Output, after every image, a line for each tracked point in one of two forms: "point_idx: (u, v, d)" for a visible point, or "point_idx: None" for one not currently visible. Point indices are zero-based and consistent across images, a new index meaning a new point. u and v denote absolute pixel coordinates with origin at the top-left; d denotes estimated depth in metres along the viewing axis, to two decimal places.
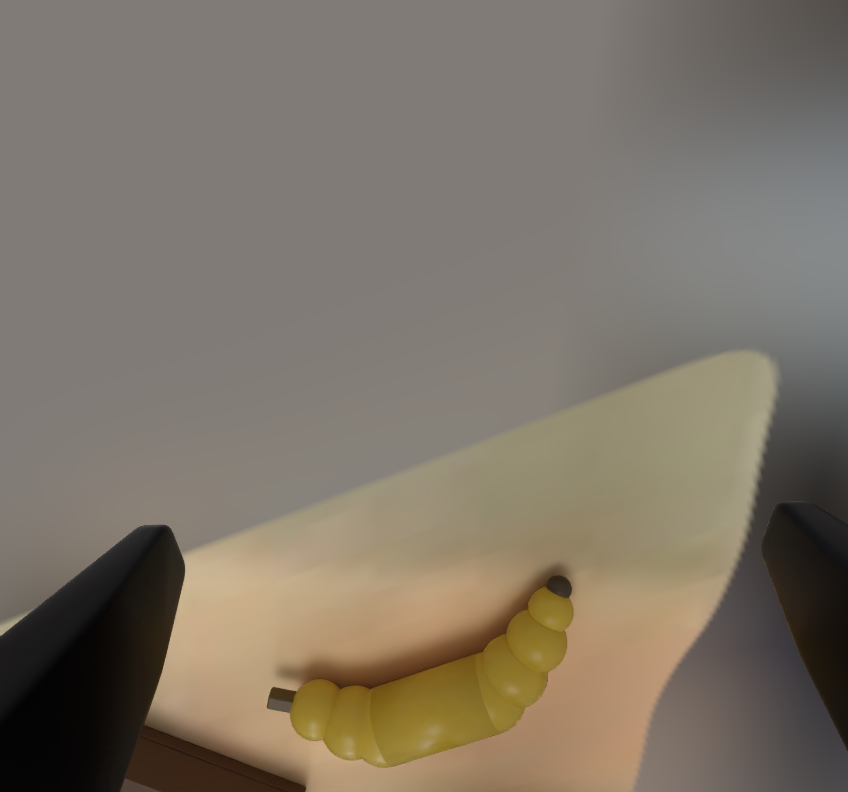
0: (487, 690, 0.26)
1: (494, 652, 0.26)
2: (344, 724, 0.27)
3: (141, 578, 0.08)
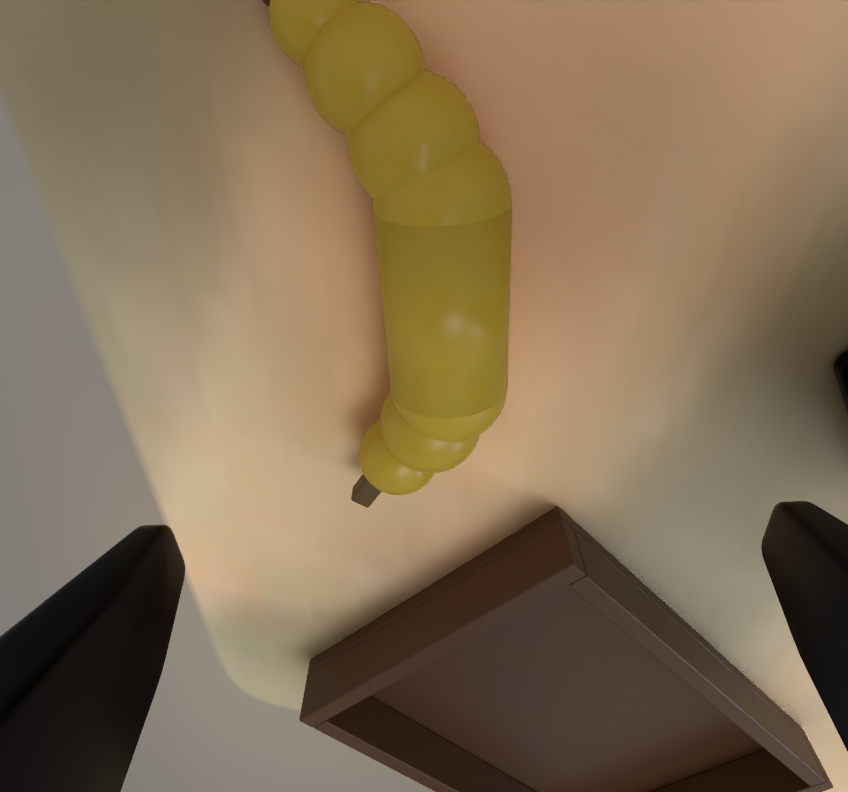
0: (390, 208, 0.14)
1: (352, 166, 0.14)
2: (394, 440, 0.17)
3: (141, 578, 0.08)
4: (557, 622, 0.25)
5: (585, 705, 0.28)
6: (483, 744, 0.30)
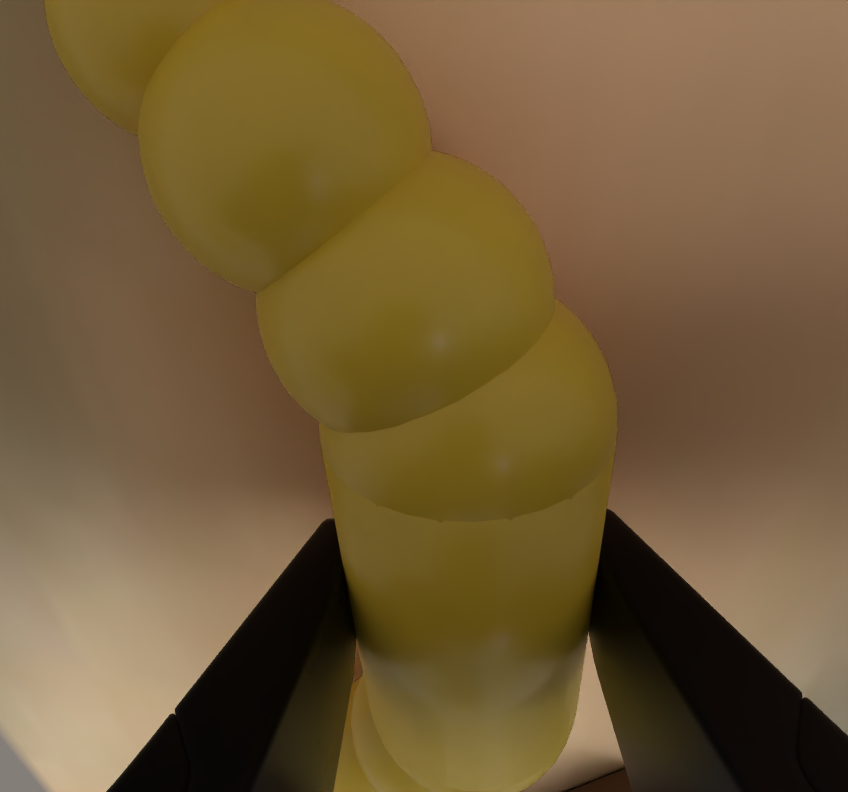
0: (351, 464, 0.06)
1: None
2: (374, 779, 0.10)
3: None
4: None
5: None
6: None
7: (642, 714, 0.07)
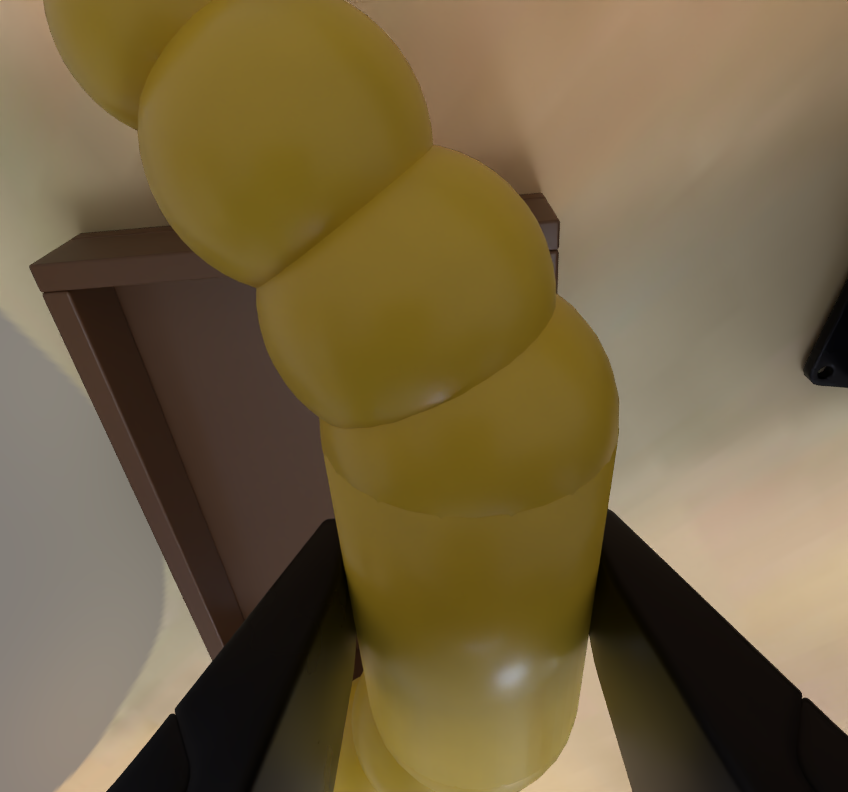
0: (352, 460, 0.06)
1: None
2: (374, 777, 0.10)
3: (344, 571, 0.08)
4: None
5: None
6: (222, 493, 0.23)
7: (642, 714, 0.07)
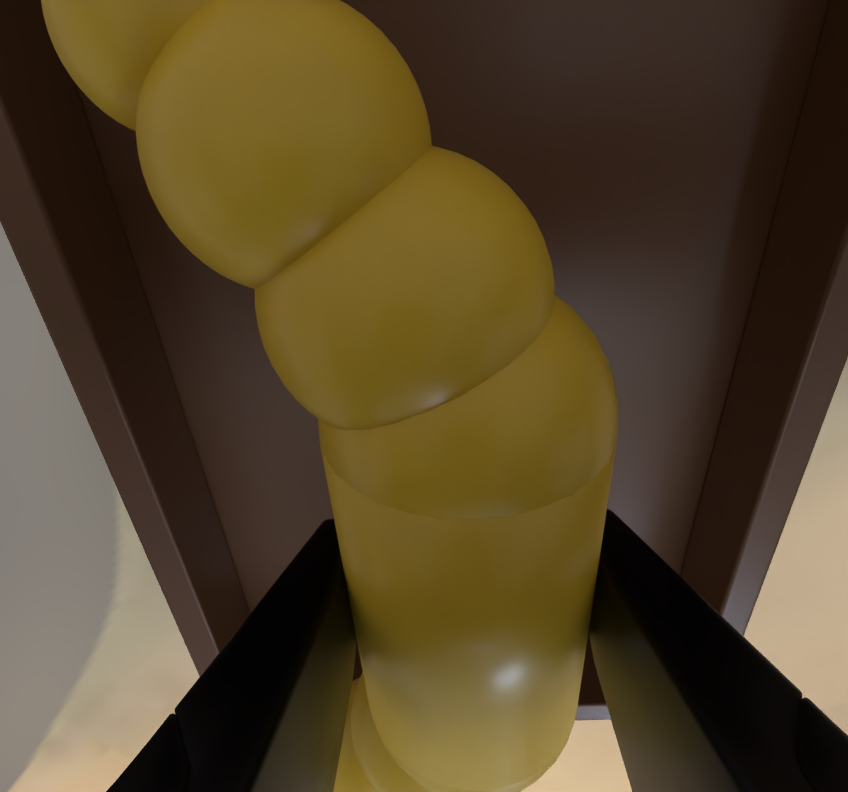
0: (351, 462, 0.06)
1: None
2: (373, 778, 0.10)
3: None
4: (637, 64, 0.10)
5: None
6: (216, 364, 0.13)
7: (642, 714, 0.07)
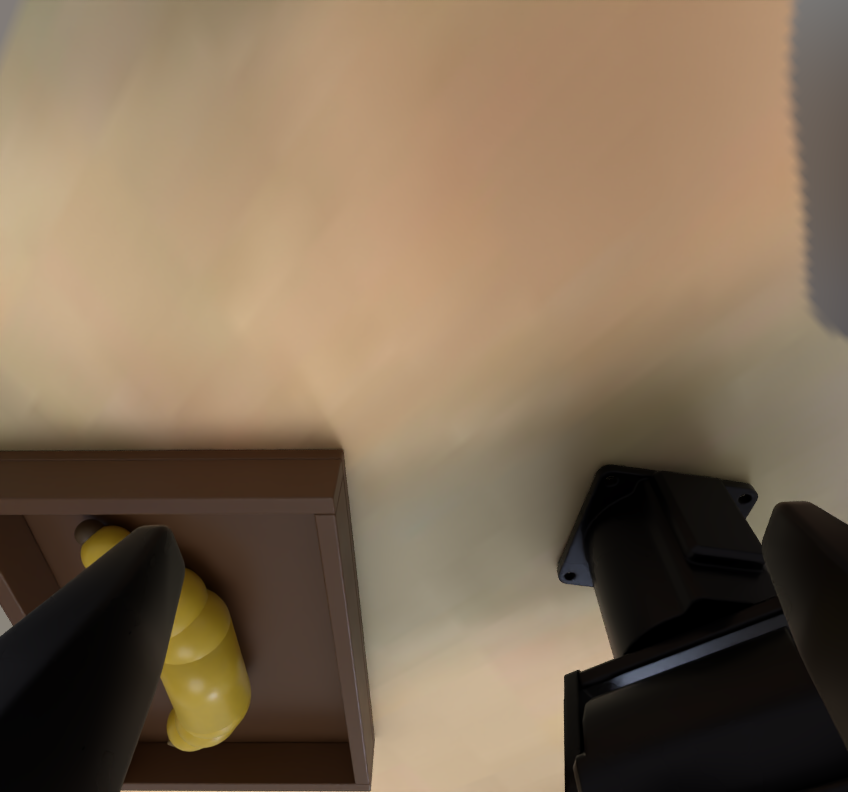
0: None
1: None
2: (178, 731, 0.28)
3: (141, 578, 0.08)
4: (264, 548, 0.25)
5: None
6: None
7: None
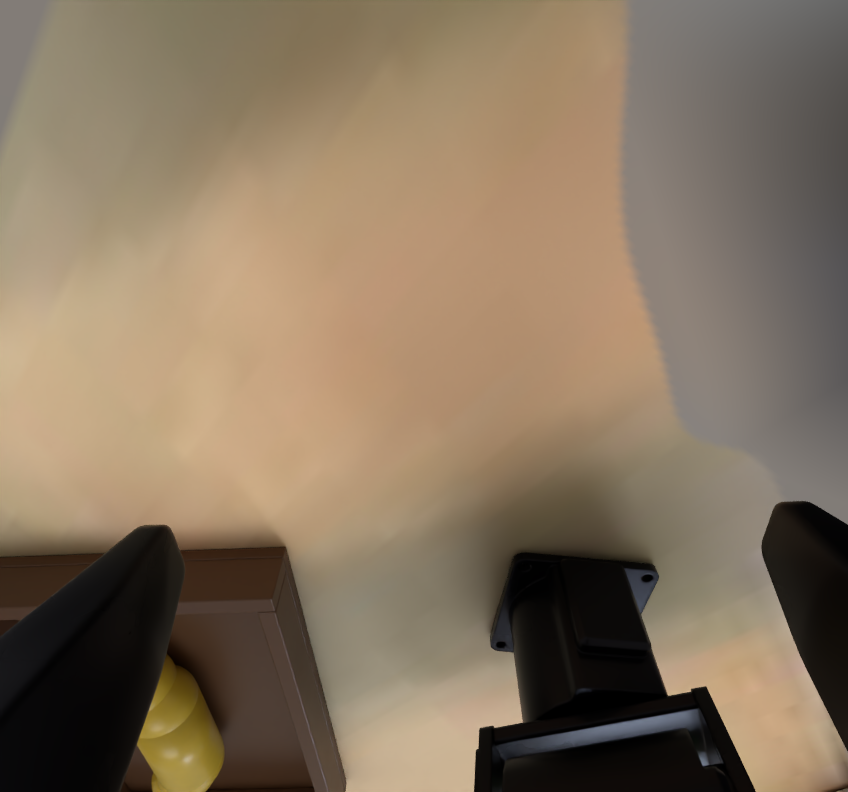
0: None
1: None
2: (160, 789, 0.31)
3: (141, 578, 0.08)
4: (224, 630, 0.28)
5: None
6: None
7: None
